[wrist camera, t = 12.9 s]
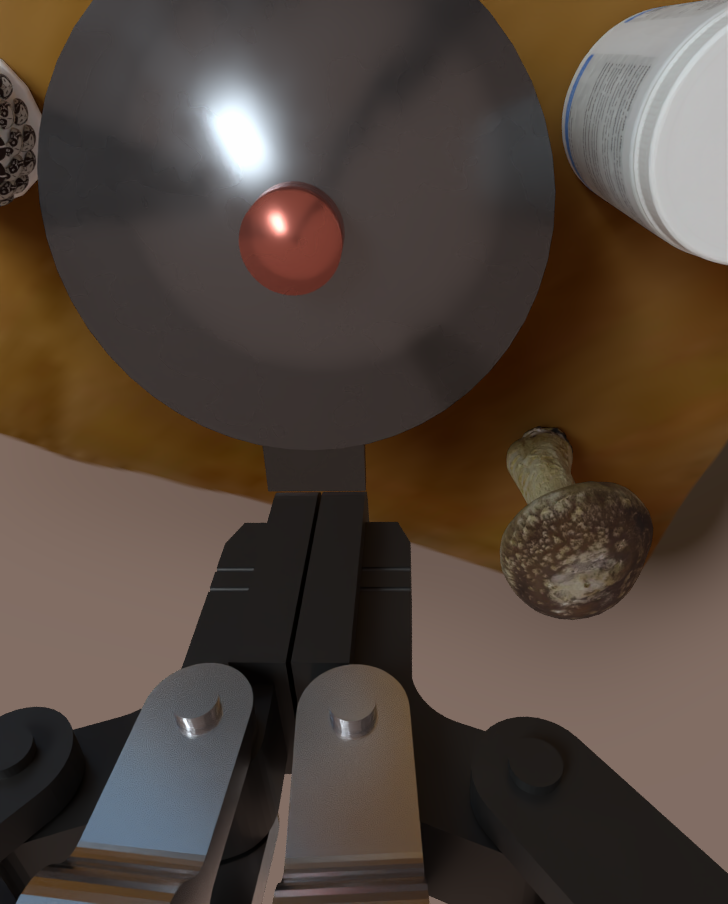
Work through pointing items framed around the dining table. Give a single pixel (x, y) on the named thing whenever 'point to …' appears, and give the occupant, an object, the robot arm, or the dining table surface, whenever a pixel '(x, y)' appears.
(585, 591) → the mushroom
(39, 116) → the decorative candle
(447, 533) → the dining table surface
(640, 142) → the supplement tub
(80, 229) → the cooker lid
